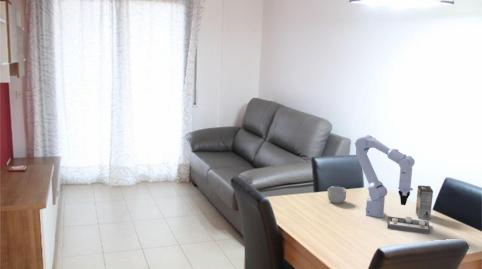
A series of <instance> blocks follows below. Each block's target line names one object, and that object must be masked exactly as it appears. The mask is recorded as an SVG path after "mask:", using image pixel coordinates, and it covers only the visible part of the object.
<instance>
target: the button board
mask: <svg viewBox="0 0 482 269" xmlns="http://www.w3.org/2000/svg"><path fill="white" fill-rule="evenodd" d="M392 218H397V219H398V222H392ZM405 219H406V217H405V218H404V217H397V216H396V217H395V216H387V229H390V230H399V231H404V232H405V231H406V232H412V233H421V234H426V235H427V234H428V235H430V234H431V225H430V222H429V220H428V221H427V220H420V219H419V220H418V219H413V218H412V222H411V223H406V222H405ZM419 221H423V222H425V226H422V225H419Z"/></svg>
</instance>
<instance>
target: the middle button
mask: <svg viewBox="0 0 482 269" xmlns="http://www.w3.org/2000/svg"><path fill="white" fill-rule="evenodd" d="M412 219H413V218H412V217H411V216H405V222H406V223H411V222H412Z"/></svg>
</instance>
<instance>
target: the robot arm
mask: <svg viewBox="0 0 482 269" xmlns="http://www.w3.org/2000/svg"><path fill="white" fill-rule="evenodd" d="M354 145H355V155H356V158H357V160H358V163H359V164H360V167H361V170H362V171H363V174H364V176H365V178H366V180H367V182H368V186H367V189H368V195H369V197H366V206H365V216H368V217H378V218H384V217H385V212H384V211H385V197H386V196H387V195H388V190H387V187H385V185H384V184H383V182H382V181H381V180H379V178H378V176H377V174H376V172H375V170H374V167H373V165H372V163H371V161H370V158H369V155H368V153H369V150H370V149H371V148H372V149H376V150H378V151H379V152H381V153H383V154H385V155H386V156H387V158H388V159H389V160H391V161H392V162H394V163H395V164H398V166H399V168H400V172H399V181H398V187H397V188H398V195H399V200H400V205H401V206H406V204H407V201H408V198H409V197H410V196H411V191H414V188H413V187H411V186H412V175H413V167H414V165H415V158H413V157H412V156H410V155H407V154H406V153H405V154H404V153H402V152H400V151H399V149H397V148H392V149H391V148H389V147H388V146H387V145H385V144H383V143H382V142H381V141H380V140H378V139H376V137H373V136H371V135H370V134H369V135H365V136H361V137H358V138H356V140H355V142H354Z"/></svg>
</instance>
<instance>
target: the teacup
mask: <svg viewBox="0 0 482 269" xmlns="http://www.w3.org/2000/svg"><path fill="white" fill-rule="evenodd" d="M346 197H347V189H346V188H345V187H341V186H334V185H332V186H330V187H328V188H327V198H328V199H327V200H329V201H330V202H331V203H332V204H335V203H336V204H337V205H338V204H343V203H344V202H345V201H346Z"/></svg>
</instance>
